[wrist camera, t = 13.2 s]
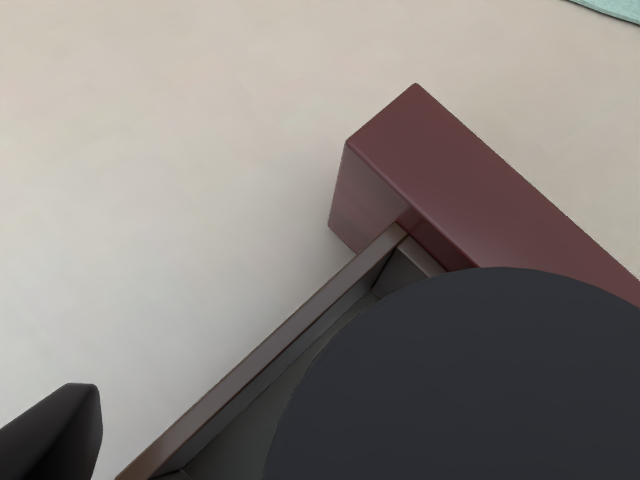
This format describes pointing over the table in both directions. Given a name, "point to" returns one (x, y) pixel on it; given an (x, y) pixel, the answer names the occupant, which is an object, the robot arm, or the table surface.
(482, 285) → the dark grey cylinder
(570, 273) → the brown square frame
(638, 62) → the table surface
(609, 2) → the cloth
